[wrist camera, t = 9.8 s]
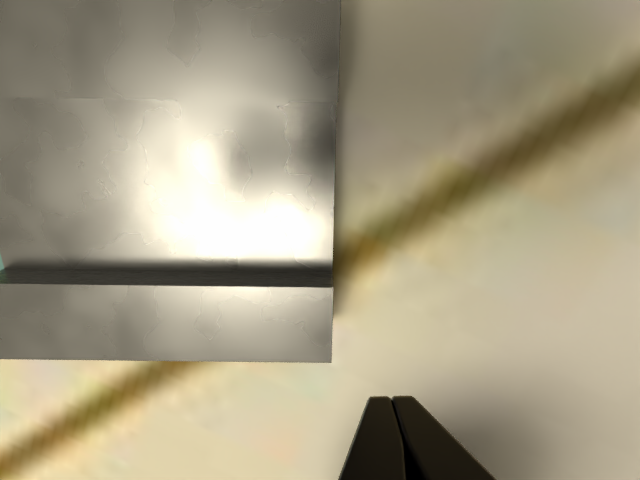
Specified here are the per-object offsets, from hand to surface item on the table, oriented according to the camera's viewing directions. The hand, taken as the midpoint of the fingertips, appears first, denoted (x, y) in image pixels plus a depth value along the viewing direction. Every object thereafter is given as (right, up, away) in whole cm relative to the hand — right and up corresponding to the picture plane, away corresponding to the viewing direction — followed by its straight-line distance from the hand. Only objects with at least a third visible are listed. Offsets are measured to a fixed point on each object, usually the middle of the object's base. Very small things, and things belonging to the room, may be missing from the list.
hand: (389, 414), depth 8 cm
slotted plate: (-8, +6, +11) cm, 15 cm away
